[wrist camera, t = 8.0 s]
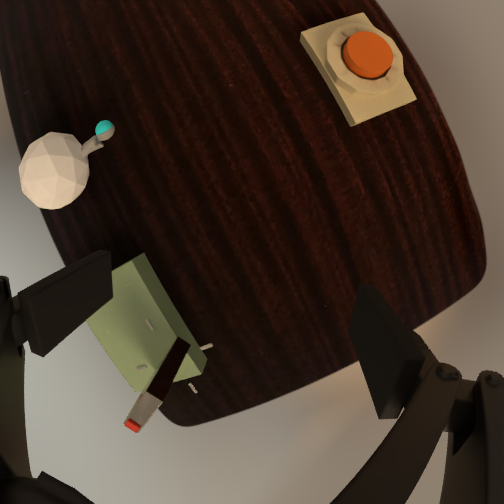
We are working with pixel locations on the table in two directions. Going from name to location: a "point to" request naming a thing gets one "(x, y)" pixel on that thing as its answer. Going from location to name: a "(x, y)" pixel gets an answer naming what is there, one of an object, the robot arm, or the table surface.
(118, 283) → the clamp block
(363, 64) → the button
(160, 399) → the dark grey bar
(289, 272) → the table surface
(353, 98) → the box
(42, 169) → the perfume bottle
